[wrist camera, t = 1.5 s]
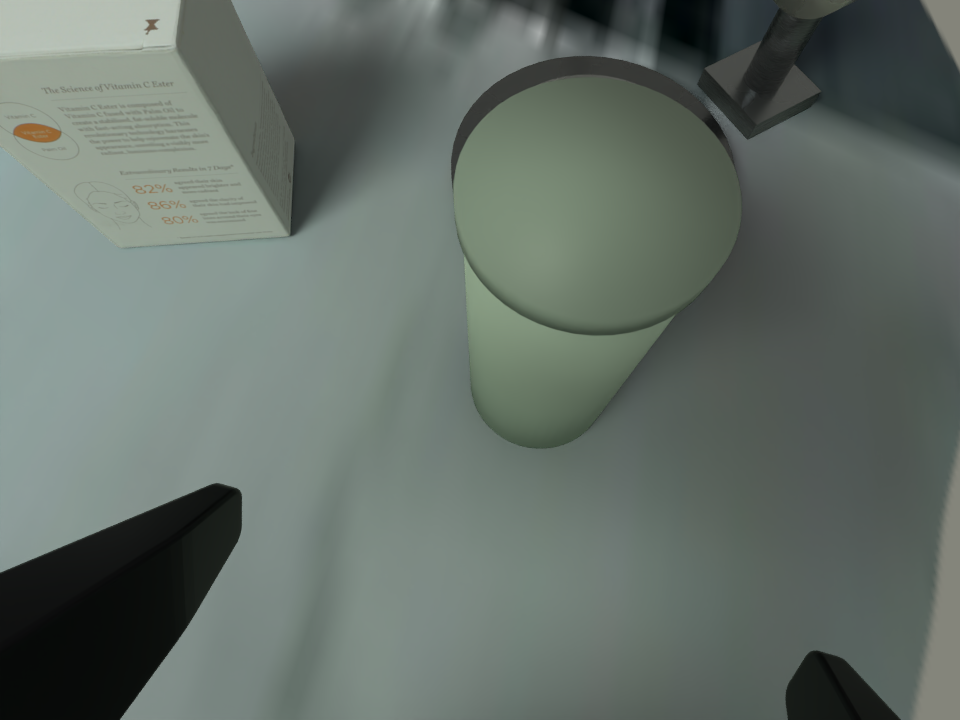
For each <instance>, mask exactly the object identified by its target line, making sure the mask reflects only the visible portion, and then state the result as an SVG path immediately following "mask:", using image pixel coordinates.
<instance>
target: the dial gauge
mask: <svg viewBox="0 0 960 720" xmlns="http://www.w3.org/2000/svg"><path fill="white" fill-rule="evenodd" d="M773 1H774V2H775V3H776V4H777V5H778V7H779V10H778V11H777V13H776V15H775V17H774V19H773V21H772V23H771V25H770V26H769V28H768V30H767V32H766V34H765V36H764V38H763V40H762V41H760V42H758V43H756V44H754V45H752V46H750V47H748V48H746V49H743V50H741V51H739V52H737V53H735V54H733V55H731V56H729V57H727V58H725V59H723V60H721V61H719V62H717V63H715V64H713V65H710V66H708V67H706V68H704V71H703V73H702V75H701V77H700V80H699V82H698V84H697V85H698V86H699V87H700V88H701V89H702V90H703V91H704V92H705V93H706V94H707V96H708V97H709V98H710V99H711V100H712V101H713V102H714V103H715V104H716V105H717V107H718V108H719V109H720V110H721V111H722V112H723V113H724V114H725V115H726V116H727V117H728V119H729V120H730V121H731V122H732V123H733V124H734V125H735V126H736V127H737V128H738V130H739V131H740V132H741V133H742V134H743V135H744V136H745V137H746V138H747V139H749V138H751V137H753V136H755V135H757V134H759V133H761V132H763V131H765V130H767V129H769V128H771V127H772V126H774V125H776V124H778V123H780V122H782V121H784V120H786V119H788V118H790V117H792V116H794V115H796V114H798V113H799V112H801V111H803V110H805V109H807V108H809V107H811V105H812V104H813V102H814V101H815V100H816V98H817V97H818V95H819V94H820V93H821V90H820V89H819V88H818V87H817V86H816V85H815V84H814V83H813V82H812V81H811V80H810V79H809V78H808V77H807V76H806V75H805V74H804V73H803V72H802V71H801V70H800V69H799V68H798V67H797V66H796V65H795V64H794V63H795V62H796V60H797V59H798V57H799V55H800V54H801V52H802V51H803V49H804V47H805V46H806V44H807V42H808V41H809V39H810V38H811V36H812V34H813V33H814V31H815V30H816V28H817V26H818V25H819V23H820V21H821V20H822V18H823V17H824V16H826V15H828V14H830V13H832V12H834V11H836V10H838V9H840V8H842V7H844V6H847V5H849V4H851V3H853V2H855V1H856V0H773Z"/></svg>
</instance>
